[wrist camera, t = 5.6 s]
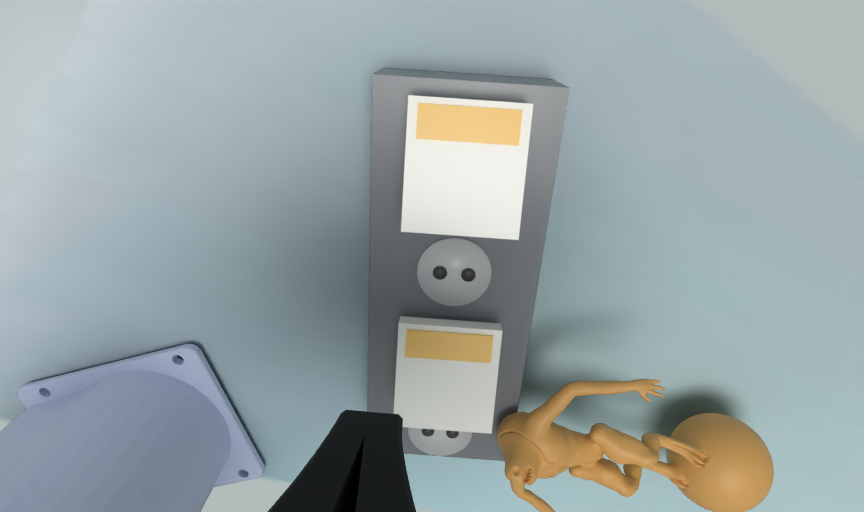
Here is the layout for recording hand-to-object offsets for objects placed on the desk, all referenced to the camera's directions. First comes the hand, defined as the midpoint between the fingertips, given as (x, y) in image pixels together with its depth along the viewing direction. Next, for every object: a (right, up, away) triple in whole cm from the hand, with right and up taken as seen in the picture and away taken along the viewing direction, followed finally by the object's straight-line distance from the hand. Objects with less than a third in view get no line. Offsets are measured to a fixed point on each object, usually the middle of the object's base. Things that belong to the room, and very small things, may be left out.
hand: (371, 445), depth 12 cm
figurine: (+15, -4, +12) cm, 20 cm away
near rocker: (+2, +7, +4) cm, 8 cm away
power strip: (+2, +4, +10) cm, 11 cm away
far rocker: (+2, 0, +7) cm, 7 cm away
